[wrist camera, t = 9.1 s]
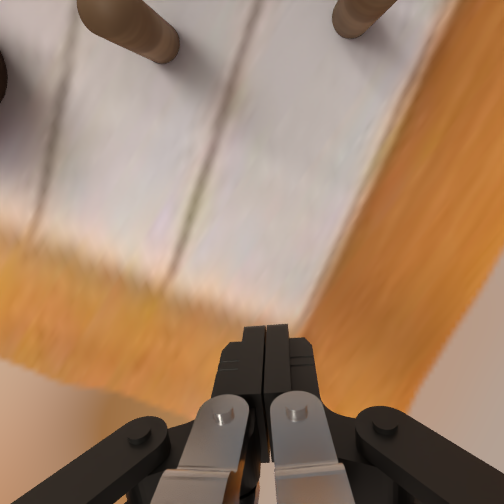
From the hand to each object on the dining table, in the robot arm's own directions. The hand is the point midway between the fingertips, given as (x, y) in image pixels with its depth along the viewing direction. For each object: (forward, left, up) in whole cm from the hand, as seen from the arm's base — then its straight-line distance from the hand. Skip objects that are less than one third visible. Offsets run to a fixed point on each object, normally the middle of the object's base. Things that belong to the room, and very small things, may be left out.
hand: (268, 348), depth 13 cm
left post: (-13, -6, -17) cm, 22 cm away
